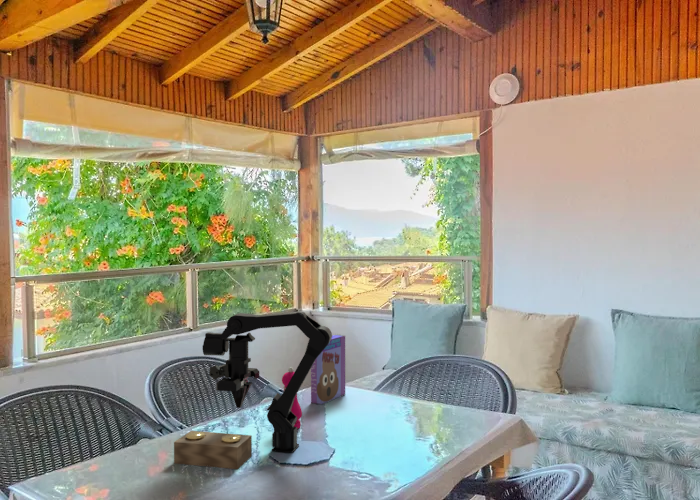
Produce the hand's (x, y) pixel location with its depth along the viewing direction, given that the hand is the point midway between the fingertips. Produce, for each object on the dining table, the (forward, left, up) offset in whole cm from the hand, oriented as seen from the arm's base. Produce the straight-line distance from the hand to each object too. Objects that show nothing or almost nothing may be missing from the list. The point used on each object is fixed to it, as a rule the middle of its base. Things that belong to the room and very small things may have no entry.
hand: (238, 407), depth 179 cm
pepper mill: (-9, -22, -12) cm, 27 cm away
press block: (+3, +11, -12) cm, 17 cm away
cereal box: (-12, -59, -12) cm, 61 cm away
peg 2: (-3, +11, -12) cm, 17 cm away
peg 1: (+8, +11, -12) cm, 18 cm away
